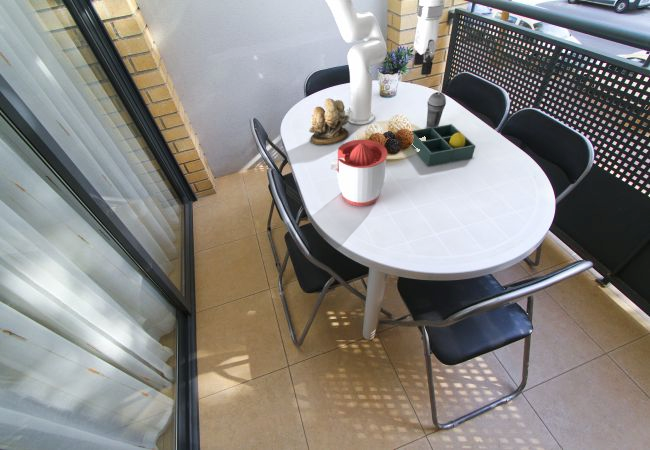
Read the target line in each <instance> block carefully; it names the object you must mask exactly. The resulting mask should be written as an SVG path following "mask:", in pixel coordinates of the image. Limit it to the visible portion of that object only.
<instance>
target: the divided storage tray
mask: <svg viewBox="0 0 650 450" xmlns="http://www.w3.org/2000/svg"><path fill="white" fill-rule="evenodd" d="M411 131H412V132H413V135H414V142H413V145H414V146H415V147H416V148H418V149H420V151H419V152H416V153H417V155H418V156H419V157H420V158H421V160H422V161H423V162H424V163H425V164H426V166H427V167H432V166H437V165H438V166H439V165H442V164H448V163H454V162H459V161H464V160H469V159H472V158H473V156H474V153H475V149H476V144H475V143H473V141H471V140H470V139H469V138H468V137H467V136H465V145H464V147H461V148H455V149H453V148H452V147H451V146H450V145H449V141H450V138H451V137H452V135H454V134H455V133H459V132H460V133H462V131H460V130H459V129H458V128H457V127H456V126H454V125H453V124H452V123H450V124H449V123H448V124H443V125H439V126H438V127H432V128H427V127H426V128H421V129H414V130H411ZM424 136H425V137H426V141H421V140H420V139H419V138H422V137H424ZM413 145H410V146H411V148H412V149H413V150H414V149H416V148H415V147H414V146H413Z"/></svg>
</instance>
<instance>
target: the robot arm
mask: <svg viewBox="0 0 650 450" xmlns="http://www.w3.org/2000/svg"><path fill="white" fill-rule="evenodd" d="M324 1H325V2H326V4H327V6H328V8H329V9H330V11H331V14H332V16H333V19H334V21H335V24H336V26H337V29H338V30H339V33H340V35H341V37H342V40H343V41H344V42H345V43H346V44H351V43H355V42H357V43H356V44H354V45H352V46H351V47H350V48H349V50H348V52H347V58H346V59H347V64H348V68H349V70H348V72H349V91H350V92H349V104H350V105H349V107H348V109H346V110H344V111H345V115H348V116H349V117H348V118H349V120H348V121H347V122H348V123H350V124H354V125H367V124H370V123H372V122H374V120H375V114H374V113H373V112H372V101H373V100H372V98H373V97H372V96H373V75H372V73H371V71H370V68H371V67H373V66H375V65H379V64H381V63H382V62H383V61H385V59H386V58H387V54H388V47H387V43H386V41H385V38H384V35H383V32H382V29H381V27H380V24H379V22H378V19H377V17H376V16H375V14H373V13H372V12H371V11H368V10H362V11H359V12H357V10H356V8H355V6H354V4H353V1H352V0H324ZM445 1H446V0H418V8H417V16H416V17H417V23H416V28H415V33H414V39H413V48H414V50H415V52H414V59H413V65H414V66H421V71H420V75H421V76H427V75H431V74H432V70H433V63H434V58H435V54H436V49H437V43H438V37H439V29H440V19H442V18H443V14H444V8H445V3H446V2H445ZM361 40H363V41H361ZM359 41H361V42H359ZM358 42H359V43H358Z"/></svg>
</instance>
